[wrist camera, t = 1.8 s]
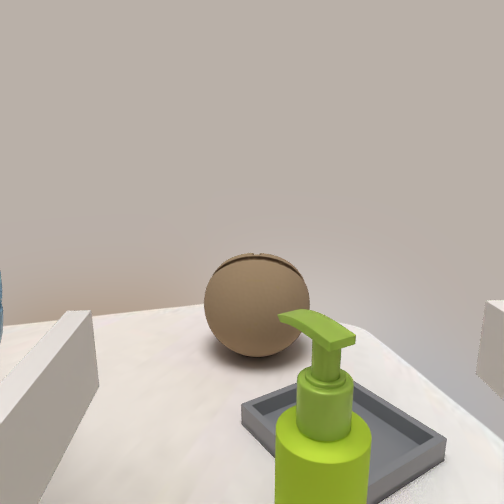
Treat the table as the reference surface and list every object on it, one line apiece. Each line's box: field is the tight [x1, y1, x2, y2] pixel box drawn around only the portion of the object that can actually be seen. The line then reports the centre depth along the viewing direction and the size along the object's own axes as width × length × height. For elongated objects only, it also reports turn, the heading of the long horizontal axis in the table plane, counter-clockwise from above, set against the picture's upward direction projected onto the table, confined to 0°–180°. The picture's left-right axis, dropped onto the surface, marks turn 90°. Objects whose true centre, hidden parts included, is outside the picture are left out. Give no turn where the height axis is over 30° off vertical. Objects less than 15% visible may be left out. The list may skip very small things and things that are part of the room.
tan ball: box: [204, 253, 310, 357], centre depth 63 cm, size 15×15×15 cm
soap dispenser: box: [275, 309, 372, 504], centre depth 28 cm, size 6×7×20 cm
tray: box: [241, 381, 447, 504], centre depth 45 cm, size 16×14×2 cm
